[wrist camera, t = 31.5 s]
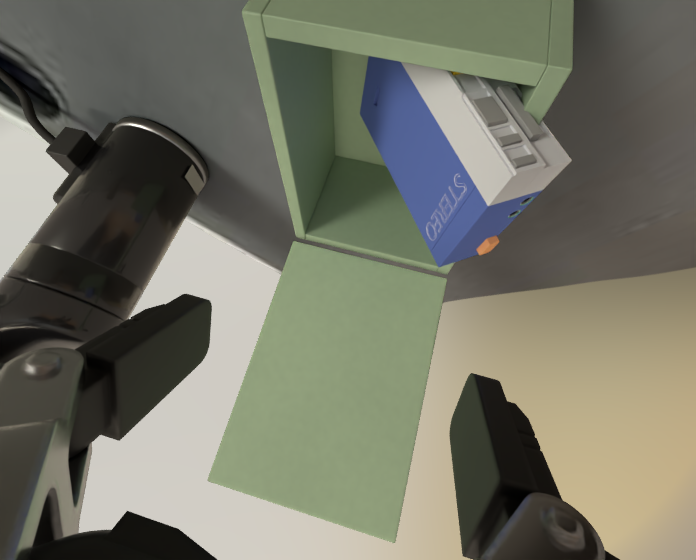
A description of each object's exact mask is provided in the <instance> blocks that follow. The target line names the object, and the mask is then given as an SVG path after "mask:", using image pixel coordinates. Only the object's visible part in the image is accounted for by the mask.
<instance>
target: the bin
mask: <svg viewBox="0 0 696 560" xmlns="http://www.w3.org/2000/svg"><path fill="white" fill-rule="evenodd" d="M242 15H243V19H244V23H245V27H246V31H247V36H248V40H249V44H250V48H251V52H252V56H253V60H254V64H255V69H256V73H257V77H258V81H259V85H260V89H261V93H262V97H263V102H264V106H265V110H266V114H267V118H268V122H269V126H270V130H271V134H272V139H273V143H274V147H275V151H276V155H277V159H278V163H279V167H280V172H281V176H282V180H283V184H284V188H285V192H286V196H287V200H288V205H289V209H290V213H291V217H292V221H293V225H294V229H295V233H296V237H297V238H301V239H306V240H309V241H313V242H317V243H321V244H326V245H330V246H334V247H338V248H342V249H346V250H350V251H354V252H358V253H362V254H366V255H370V256H374V257H378V258H382V259H386V260H390V261H394V262H399V263H403V264H407V265H411V266H415V267H419V268H423V269H427V270H431V271H435V272H436V271H437V272H438V273H442V274H446V275H447V274H448V272H449V271H450V269H451V267H452V266H453V264H454V263H455V262H454V263H451V264H448V265H445V266H442V267H438V265H437V264H436V262H435V260H434V258H433V256H432V254H431V252H430V250H429V248H428V246H427V244H426V242H425V240H424V238H423V236H422V234H421V232H420V230H419V228H418V226H417V225H416V223H415V221H414V219H413V217H412V215H411V213H410V211H409V209H408V207H407V205H406V203H405V201H404V199H403V197H402V195H401V193H400V191H399V189H398V187H397V186H396V184H395V182H394V180H393V178H392V176H391V174H390V172H389V170H388V168H387V166H386V164H385V162H384V160H383V158H382V156H381V154H380V152H379V150H378V148H377V147H376V145H375V143H374V141H373V139H372V137H371V135H370V133H369V131H368V129H367V127H366V125H365V123H364V121H363V119H362V117H361V115H360V108H361V102H362V95H363V89H364V83H365V76H366V70H367V63H368V57H369V56H372V57H377V58H383V59H388V60H393V61H399V62H404V63H410V64H415V65H420V66H426V67H431V68H437V69H442V70H448V71H453V72H458V73H464V74H469V75H475V76H480V77H485V78H491V79H496V80H502V81H507V82H512V83H515V84H516V86H517V87H518V88H519V90H520V91H521V92H522V97H521V102H522V104H523V105H524V111H527V112H529V113H530V115H531V116H532V117H533V119H534V120H535V122H536V123H537V124H538V125H539V124H540V122H541V121H542V119H543V117H544V116H545V114H546V113H547V111H548V109H549V108H550V106H551V104H552V103H553V101H554V99H555V98H556V96H557V95H558V93H559V91H560V90H561V88H562V86H563V85H564V83H565V82H566V80H567V78H568V77H569V75H570V73H571V72H572V68H573V20H574V0H249V1H248V3H247V4H246V5H245V7H244V8H243V10H242Z"/></svg>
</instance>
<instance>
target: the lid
mask: <svg viewBox="0 0 696 560" xmlns="http://www.w3.org/2000/svg"><path fill="white" fill-rule="evenodd" d="M446 283H447V279H445V278H441V277H437V276H433V275H429V274H425V273H421V272H417V271H413V270H409V269H405V268H401V267H397V266H393V265H389V264H385V263H381V262H377V261H372V260H368V259H364V258H360V257H356V256H352V255H348V254H344V253H340V252H336V251H332V250H328V249H324V248H320V247H316V246H312V245H308V244H304V243H300V242H296V241H293V243H292V246H291V249H290V252H289V255H288V257H287V260H286V263H285V266H284V268H283V271H282V274H281V277H280V280H279V283H278V285H277V288H276V291H275V294H274V296H273V299H272V302H271V305H270V307H269V310H268V313H267V316H266V319H265V322H264V324H263V327H262V330H261V333H260V336H259V338H258V341H257V344H256V346H255V349H254V352H253V355H252V357H251V360H250V363H249V366H248V369H247V371H246V374H245V377H244V380H243V383H242V385H241V388H240V391H239V394H238V396H237V399H236V402H235V405H234V407H233V410H232V413H231V416H230V419H229V421H228V424H227V427H226V430H225V432H224V435H223V438H222V441H221V444H220V446H219V449H218V452H217V455H216V458H215V460H214V463H213V466H212V469H211V472H210V474H209V477H208V481H209V482H212V483H215V484H218V485H221V486H224V487H227V488H230V489H233V490H236V491H239V492H242V493H245V494H248V495H251V496H254V497H257V498H260V499H263V500H266V501H269V502H272V503H275V504H278V505H281V506H284V507H287V508H290V509H293V510H296V511H299V512H302V513H306V514H308V515H311V516H314V517H317V518H320V519H324V520H326V521H329V522H332V523H335V524H338V525H341V526H344V527H347V528H350V529H353V530H356V531H359V532H362V533H365V534H368V535H371V536H374V537H377V538H380V539H383V540H386V541H389V542H392V543H395V541H396V536H397V531H398V526H399V521H400V516H401V511H402V506H403V501H404V496H405V490H406V485H407V480H408V475H409V470H410V465H411V460H412V454H413V450H414V445H415V440H416V435H417V430H418V425H419V420H420V415H421V409H422V404H423V399H424V394H425V389H426V384H427V379H428V374H429V369H430V364H431V359H432V354H433V348H434V344H435V338H436V333H437V328H438V323H439V318H440V313H441V308H442V303H443V298H444V293H445V288H446Z"/></svg>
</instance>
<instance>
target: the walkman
mask: <svg viewBox="0 0 696 560" xmlns="http://www.w3.org/2000/svg"><path fill="white" fill-rule="evenodd" d="M521 97H522V92H521V91H520V90H519V88H518V87H517V86H516V84H515V83H512V82H507V81H502V80H496V79H491V78H485V77H480V76H475V75H469V74H464V73H458V72H453V71H448V70H442V69H437V68H431V67H426V66H420V65H415V64H410V63H404V62H399V61H393V60H388V59H383V58H377V57H372V56H369V57H368V63H367V70H366V76H365V83H364V89H363V95H362V102H361V108H360V115H361V117H362V119H363V121H364V123H365V125H366V127H367V129H368V131H369V133H370V135H371V137H372V139H373V141H374V143H375V145H376V147H377V148H378V150H379V152H380V154H381V156H382V158H383V160H384V162H385V164H386V166H387V168H388V170H389V172H390V174H391V176H392V178H393V180H394V182H395V184H396V186H397V187H398V189H399V191H400V193H401V195H402V197H403V199H404V201H405V203H406V205H407V207H408V209H409V211H410V213H411V215H412V217H413V219H414V221H415V223H416V225H417V226H418V228H419V230H420V232H421V234H422V236H423V238H424V240H425V242H426V244H427V246H428V248H429V250H430V252H431V254H432V256H433V258H434V260H435V262H436V264H437V265H438V267H442V266H445V265H448V264H451V263H454V262H457V261H460V260H463V259H466V258H469V257H472V256H475V255H478V254H479V255H482V254H485V253H488V252H490V251H491V250H492V249H493V248H494V247H495V246H496V245H497V244H498V243H499V240H498V238H497V236H498V235H499V234H500V233H501V232H502V231H503V230H504V229H505V228H506V227H507V226H508V225H509V224H510V223H511V222H512V221H513V220H514V219H515V218H516V217H517V216H518V215H519V214H520V213H521V212H522V211H523V210H524V209H525V208H526V207H527V206H528V205H529V204H530V203H531V202H532V201H533V200H534V199H535V198H536V197H537V196H538V195H539V194H540V193H541V192H542V191H543V189H544V188H545V187H546V186H547V185H548V184H549V183H550V182H551V181H552V180H553V179H554V178H555V177H556V176H557V175H558V174H559V173H560V172H561V171H562V170H563V169H564V168H565V167H566V166H567V165H568V164H569V163H570V162H571V161H572V160H571V158H570V157H569V156H568V154H567V153H566V152H565V150H564V149H563V148H562V146H561V145H560V144H559V142H558V141H557V140H556V138H555V137H554V136H553V134H552V133H551V131H550V130H549V129H548V127H547V126H546V125H545V123H544V122H543V121H541V122H540V124H539V125H538V124H537V123H536V122H535V120H534V119H533V117H532V116H531V115H530V113H529V112H527V111H524V105H523V104H522V102H521Z"/></svg>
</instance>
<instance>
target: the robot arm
mask: <svg viewBox="0 0 696 560" xmlns="http://www.w3.org/2000/svg"><path fill="white" fill-rule="evenodd" d="M0 78H1V79H2V80H3V81H4V82H5V83H6V84H7V85H8V86H9V87H10V88H11V89H12V90H13V91H14V92H15V93H16V94H17V96H18V97H19V99H20V101H21V104H22V108H23V111H24V114H25V116H26V118H27V120H28V122H29V123H30V124H31V126H32V127H33V128H34V129H35V130H36V132H37V133H38V134H39V135H40V136H41V137H42V138H43V139H45V140H46V141H47V142H48V143H49V144H51V145H50V146H49V147H48V148H47V150H46V152H47V153H48V154H49V155H50V156H51V157H52V158H53V159H54V160H55V161H56V162H57V163H58V164H59V165H60V166H61V167H62V168H63V169H64V170H66V171H67V172H68V173H69V175H68V177H67V178H66V179H65V180H64V182H63V183H62V184H61V186H60V187H59V188H58V189H57V191H56V192H55V194H54V196H53V199H54V201H55V202H56V203H57V204H58V205H57V206H56V207H55V209H54V210H53V211H52V213H51V214H50V215H49V217H48V218H47V219H46V221H45V222H44V223H43V224H42V226H41V227H40V228H39V230H38V231H37V232H36V234H35V235H34V236H33V238H32V239H31V240H30V242H29V243H28V245H27V246H26V248H25V249H24V250H23V251H22V253H21V254H20V255H19V257H18V258H17V259H16V261H15V262H14V263H13V265H12V266H11V267H10V268H9V270H8V271H7V272H6V274H5V275H4V277H3V278H2V279H1V280H0V560H217V559H216V558H215V557H213V556H212V555H210V554H209V553H208V552H207V551H206V550H204V549H203V548H202V547H200V546H199V545H198V544H197V543H195V542H194V541H193V540H192V539H190V538H189V537H188V536H187V535H185V534H184V533H183V532H182V531H180V530H179V529H177V528H174V527H171V526H168V525H165V524H163V523H160V522H157V521H154V520H151V519H148V518H145V517H142V516H140V515H137V514H134V513H132V512H129V511H127V512H126V513H125V514H124V516H123V517H122V518H121V519H120V521H119V522H118V523H117V524H116V525H115V527H114V528H113V529H112V530H98V531H89V532H83V533H78V530H79V520H80V514H81V509H82V503H83V498H84V492H85V487H86V481H87V476H88V470H89V465H90V459H91V454H92V443H91V442H92V441H94V440H95V439H96V438H97V437H98V436H99V435H104V436H107V437H110V438H113V439H116V440H120V439H122V437H124V436H125V435H126V434H127V433H128V432H129V431H130V430H131V429H132V428H133V427H134V426H135V425H136V424H137V423H138V422H139V421H140V420H141V419H142V418H143V417H145V416H146V415H147V414H148V413H149V412H150V411H151V410H152V409H153V408H154V407H155V406H156V405H157V404H158V403H159V402H160V401H161V400H162V399H163V398H165V396H166V395H167V394H169V393H170V392H171V391H172V390H173V389H174V388H175V387H176V386H177V385H178V384H179V383H180V382H181V381H182V380H183V379H184V378H185V377H186V376H188V374H190V373H191V372H192V371H193V370H194V369H195V368H196V367H197V366H198V365H199V364H200V363H201V362H202V361H203V359H204V358H205V356H206V354H207V351H208V348H209V343H210V327H211V311H212V306H211V303H210V301H209V300H206V299H203V298H200V297H196V296H192V295H189V294H183V295H181V296H179V297H178V298H176V299H174V300H173V301H171V302H169V303H167V304H166V305H165V304H163V305H159V306H156V307H152V308H148V309H145V310H143V311H142V312H140V313H138V314H136V315H135V316H133V317H131V319H129V317H130V315H131V313H132V312H133V310H134V308H135V307H136V305H137V303H138V301H139V299H140V298H141V296H142V294H143V292H144V290H145V289H146V287H147V285H148V283H149V281H150V280H151V278H152V276H153V274H154V272H155V271H156V269H157V267H158V265H159V264H160V262H161V260H162V258H163V257H164V255H165V253H166V251H167V250H168V248H169V246H170V244H171V242H172V241H173V239H174V237H175V235H176V234H177V232H178V230H179V228H180V227H181V225H182V223H183V221H184V219H185V218H186V216H187V214H188V212H189V211H190V209H191V207H192V205H193V204H194V202H195V200H196V198H197V196H198V195H199V193H200V191H201V190H202V189H203V188H204V186H205V184H206V182H207V181H208V178H209V173H208V169H207V167H206V164H205V163H204V161H203V160H202V158H201V157H200V156H199V154H198V153H197V152H196V151H195V150H194V149H193V148H192V147H191V146H190V145H189V144H188V143H187V142H185V141H184V140H183V139H182V138H180V137H179V136H178V135H176V134H175V133H173V132H172V131H170V130H168V129H166V128H165V127H163V126H161V125H159V124H156V123H154V122H152V121H149V120H146V119H142V118H137V117H126V118H123V119H121V120H120V121H119V122H118V123H117V124H114V123H108V125H107V126H106V127H105V129H104V130H103V131H102V133H101V134H100V135H99V136H98V138H97V139H96V140H95V141H94V140H93V139H92V138H91V137H90V135H89V134H88V133H87V132H86V131H82V130H78V129H73V128H69V127H65V128H64V129H63V130H62V132H61V133H60V134H59V135H58V136H57V138H55V137H54V136H53V135H52V134H51V133H49V132H48V131H47V130H46V129H45V128H44V127H43V125H42V124H41V123H40V122H39V120H38V119H37V117H36V114H35V111H34V108H33V105H32V102H31V99H30V97H29V96H28V94H27V93H26V91H25V90H24V89H23V88H22V87H21V86H20V85H19V84H18V83H17V82H16V81H15V80H14V79H13V78H12V77H11V76H10V75H9V74H8V73H7V72H5V71H4V70H3V69H1V68H0ZM450 444H451V453H452V462H453V472H454V481H455V489H456V499H457V508H458V516H459V526H460V535H461V544H462V554H463V556H464V557H467V558H470V559H473V560H620V559H618V558H616V557H615V556H613V555H611V554H610V553H608V552H607V551H605V550H604V547H603V544H602V542H601V539H600V537H599V536H598V534H597V532H596V531H595V529H594V528H593V527H592V525H591V524H590V523H589V522H588V521H587V519H586V518H585V517H584V516H583V515H582V514H580V513H579V512H578V511H577V510H576V509H575V508H573V507H572V506H571V505H569V504H568V503H566V502H564V501H563V500H562V498H561V496H560V494H559V492H558V489H557V486H556V484H555V482H554V479H553V477H552V475H551V472H550V470H549V468H548V465H547V462H546V460H545V458H544V455H543V453H542V452H541V451H540V446H539V443H538V441H537V438H535V434H534V431H533V429H532V426H531V424H530V422H529V419H528V418H527V417H526V416H525V415H524V413H523V412H522V411H521V410H520V409H519V408H518V406H517V405H516V404H515V403H511V402H507V400H506V397H505V395H504V392H503V389H502V386H501V384H500V382H499V381H498V380H495V379H491V378H487V377H484V376H480V375H477V374H473V373H471V374H470V375H469V377H468V379H467V381H466V383H465V386H464V388H463V391H462V394H461V396H460V399H459V401H458V404H457V406H456V409H455V411H454V414H453V417H452V421H451V426H450Z"/></svg>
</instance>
